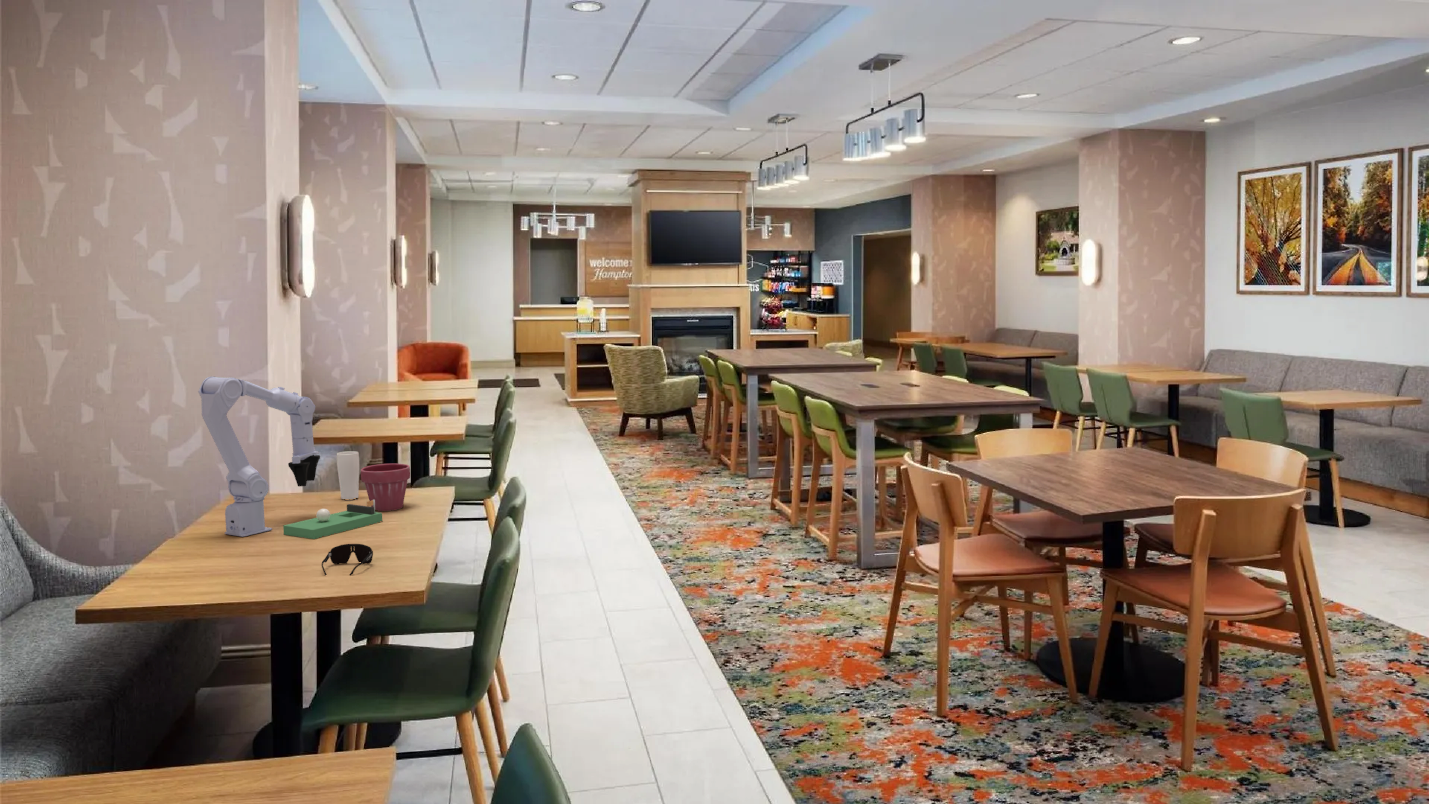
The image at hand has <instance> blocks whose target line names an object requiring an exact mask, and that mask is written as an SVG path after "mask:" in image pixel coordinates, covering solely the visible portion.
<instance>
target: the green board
mask: <svg viewBox="0 0 1429 804" xmlns="http://www.w3.org/2000/svg"><path fill="white" fill-rule="evenodd" d="M372 505H373V507H371V506H372ZM380 521H382V522H383V512H379V511H375V500H372V501H369V500H368V501H366V505H361V504H353V503H347V504H346V510H344V511H339V512H335V513H330V518H329V519H328V520H327V521H325V522H321V521H319V520H318V519H317V517H313V518H310V519H309V518H308V519H305V520H300V521H295V522H291V523H289V524H284V525H283V526H282V527H283V529H282V530H283V535H284V536H290V537H297V538H303V537H304V539H309V540H310V539H311V540H315V539H320V538H323V537H322V536H324V537H327V536H331V534H332V535H335V534H334V533H336V534H340V533H344V532H346V530H347V531H351V530H355V529H358V527H359V528H363V527H367V526H370V525H369V524H371V525H375V524H378V523H377V522H379V523H381V522H380ZM374 523H375V524H374ZM366 525H367V526H366ZM354 528H355V529H354ZM343 531H344V532H343ZM319 537H320V538H319Z"/></svg>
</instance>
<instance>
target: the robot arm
mask: <svg viewBox="0 0 1429 804" xmlns="http://www.w3.org/2000/svg"><path fill="white" fill-rule="evenodd" d="M285 389H286V388H285V387H283V386H277V387H273V388H270V389H268V388H265V387H263V386H260V385H258V384H255V383H253V382H250V381H248V380H244V379H240V378H236V377H216V376H212V375H211V376H208V377H206V378H205V379H204V380H203V381H202V382H201V384H200V387H199V389H198V391H197V392H198V394H199V396H200V399H201V416H202V419H203V421H204V423H205V426H206V427H207V430H208V432H209V434H210V435H211V437H212V439H213V442H214V443H215V445H216V447H217V448H216V449H218V452H219V454H220V456H221V458H222V459H223V461H224V464H225V467H226V469H227V470H228V474H226V477H225V479H226V481H227V484H228V488H227V489H228V492H229V494H230V495H231V496H232V497H233V501H234V502H233V503H230V504H227V506H226V508H225V511H224V512H225V513H224V515H225V517H224V518H225V519H224V520H225V529H226V530H225V531H224V535H228V536H229V535H230V536H237V537H241V538H242V537H247V536H252V535H256V534H260V533H265V532H269V531H272V530H273V527H267V526H265V525H266V522H265V505H264V502H265V501H264V500H265V497H267V494H268V491H269V483H268V480H267V479H265V478H264V477H262V476H261V474H260V472H259V471H258V470H257V469H256V468H254V467H253V466H252V465H251V464H250V462H249V460H248V458H247V456H246V453H245V452H244V450H243V447H242V445H241V443H240V441H239V439H238V437H237V435H236V433H235V430H234V429H233V426H232V424H231V423H230V421H229V420H230V419H229V418H228V416H227V415H228V413H229V411H230V410H231V409H232V407H234V405H235V403H236V402H238V400H239V399H240V397H245V396H247V397H251V398H255V399H258V400H261V401H265V404H266V406H267V407H269V408H271V409H274V410H278V411H281V412H284V413H286V414H287V415H288V416H289V418H290V431H291V442H292V457H291V461H290V462H288V468H289V469H290V470H291V471H292V474H293V476H294V478H295V481H296V485H297V487H306V486H307V482H313V481H316V475H317V474H316V473H317V467H318V463H319V461H320V459H321V456H320V454H319V453H320V451H317V450H316V447H315V444H314V432H313V420H314V418H313V417H314V413H315V411H316V404H314V401H313V400H312V399H311V398H310V397H309V396H300V395H299V393H298V392H295V391H293V392H290V391H288V390H285Z"/></svg>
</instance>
